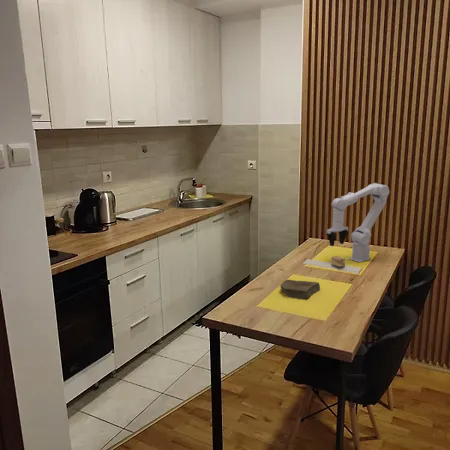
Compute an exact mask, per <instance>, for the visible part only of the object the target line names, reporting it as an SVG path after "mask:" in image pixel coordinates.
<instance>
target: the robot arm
mask: <svg viewBox="0 0 450 450" xmlns="http://www.w3.org/2000/svg"><path fill="white" fill-rule="evenodd" d="M389 188H390V187H388V185H386V184H381V183H380V184H379V183H377V182H372V183H371V184H368V185H367V186H366V187H364V188H362V189H360V190H359V191H356V192H350V191H349V192H348V193H347V194H345V195H342V196H340V198H339V197H336V198H334V199H333V200H332V202H331V207H332V210H333V211H332V227H330V228H328V229H326V234H325V235H326V237H328V238H327V239H328V242H329V246H330V247H334V246H335V240H336V237H337V234H335V233H338V235H339V244H341V245H344V243H345V240H346V238H347V235H348V234H349V226H346V225H345V226H344V220H345V210H346V208H347V207H349V206H350V205H353V204H355V203H357V202H358V200H359V199H361V198H363V197H366V196H369V195H371V196H372V198H373V201H374V202H373V204H372V205H371V208H370V209H369V211H368V212H367V215H366V216H365V218H364V220H363V221H362V223H361V225H360V226H359V227H358V226H357V228H355V230H354V231H353V232H352V233H350V239H351V241H352V251H351V252H352V254H351V257H348V259H349V260H351V261H355V262H357V263H362V262H366V261H369V260H371V258H370V252H371V248H370V245H369V243H370V240H371V237H372V233H371V230H372V228H373V227H374V224H375V223H376V221H377V219H378V217H379V216H380V214H381V212H382V211H383V209H384V207H385V205H386V203H387V199H388V197H389V194H390V192H391V191H390V189H389Z"/></svg>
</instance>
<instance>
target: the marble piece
mask: <svg viewBox="0 0 450 450" xmlns="http://www.w3.org/2000/svg"><path fill="white" fill-rule="evenodd" d="M279 287H280V290H281V292H282V293H283V294H284V295H286V296H287V297H288V298H292V299H293V298H294V299H299V300H306V299H309V298H311V297H312V296H313V295H314V294H316V293H318V292H319V291H320V290H321V286H320V283H319V282H317V281H310V280H309V281H307V280H294V279H285V280H283V282H282V283H281V284H280V286H279Z"/></svg>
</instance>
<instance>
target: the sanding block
mask: <svg viewBox="0 0 450 450" xmlns="http://www.w3.org/2000/svg"><path fill="white" fill-rule="evenodd" d="M330 261H331V262H330V263H331V265H332V266H335V267H338V268H342V267H345V265H346V258H345V257H341V256H338V255H335V256H331V259H330Z"/></svg>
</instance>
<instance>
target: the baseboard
mask: <svg viewBox="0 0 450 450" xmlns="http://www.w3.org/2000/svg"><path fill="white" fill-rule="evenodd" d="M301 261H302V262H301V263H302V265H305V264H308V265H307V266H310V265H314V266H313V267H316V266H319V267H318V268H322V267H325V268H324V269H328V268H331V269H330V270H334V269H337V270H336V271H341V272H348V273H352V274H359V273H360V272H361V271H363V268H362V267H357V266H351V265H346V264H345V267H342V268H338V267H335V266H332V265H331V262H328V261H322V260H317V259H309V258H307V257H306V258H304V260H301Z"/></svg>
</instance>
